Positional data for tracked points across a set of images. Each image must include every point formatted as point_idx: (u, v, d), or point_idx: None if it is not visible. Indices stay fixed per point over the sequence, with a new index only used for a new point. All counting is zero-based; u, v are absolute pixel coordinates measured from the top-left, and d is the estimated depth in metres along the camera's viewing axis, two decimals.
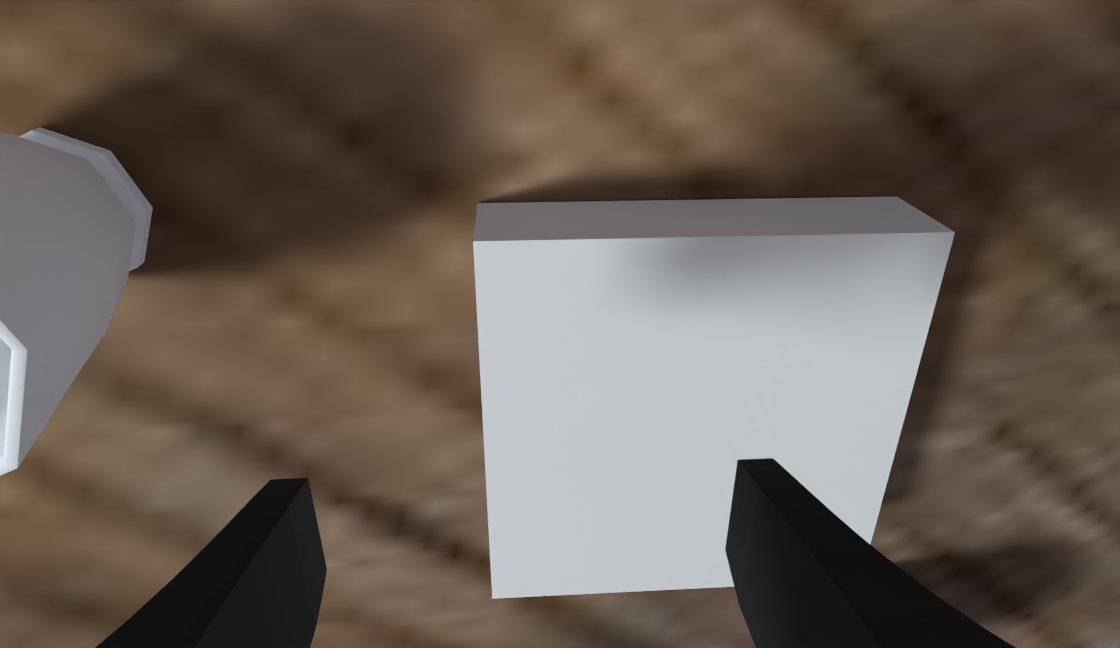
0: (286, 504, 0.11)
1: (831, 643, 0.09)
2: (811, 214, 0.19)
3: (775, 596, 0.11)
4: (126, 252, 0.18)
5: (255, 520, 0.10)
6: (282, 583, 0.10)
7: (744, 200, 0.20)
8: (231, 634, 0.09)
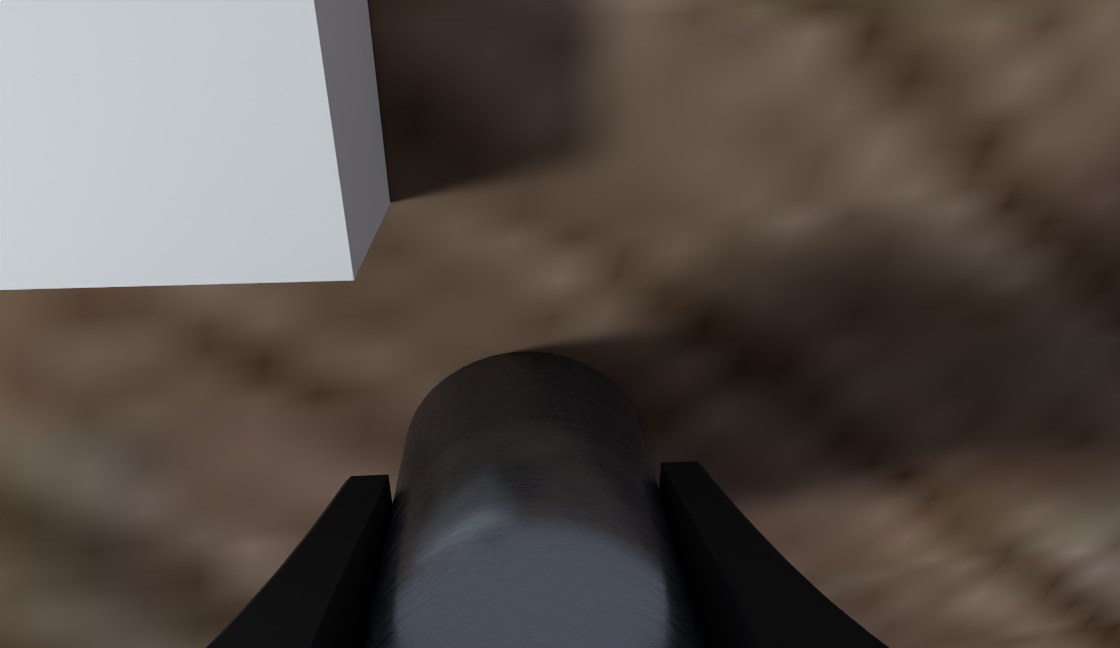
0: (373, 500, 0.11)
1: None
2: None
3: None
4: None
5: (346, 516, 0.10)
6: (371, 578, 0.10)
7: None
8: (337, 628, 0.09)
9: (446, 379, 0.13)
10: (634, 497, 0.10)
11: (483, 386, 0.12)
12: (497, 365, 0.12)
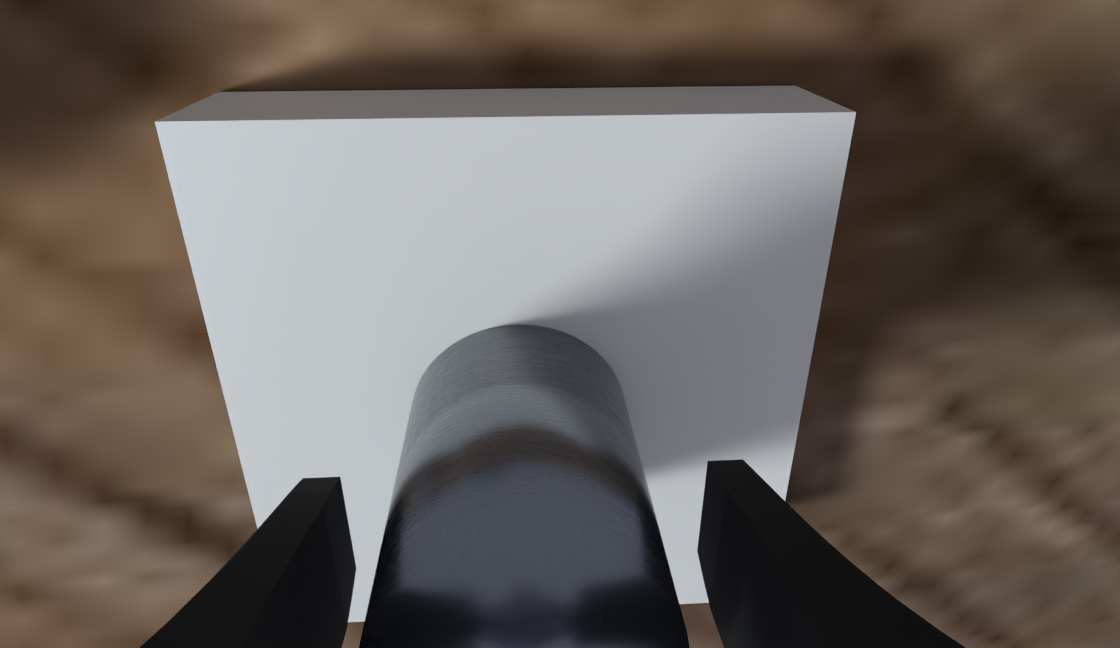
0: (321, 503, 0.11)
1: (791, 645, 0.09)
2: (665, 98, 0.14)
3: (741, 598, 0.11)
4: None
5: (292, 518, 0.10)
6: (318, 581, 0.10)
7: (585, 89, 0.15)
8: (274, 632, 0.09)
9: (438, 357, 0.14)
10: (598, 435, 0.11)
11: (467, 358, 0.13)
12: (479, 339, 0.14)
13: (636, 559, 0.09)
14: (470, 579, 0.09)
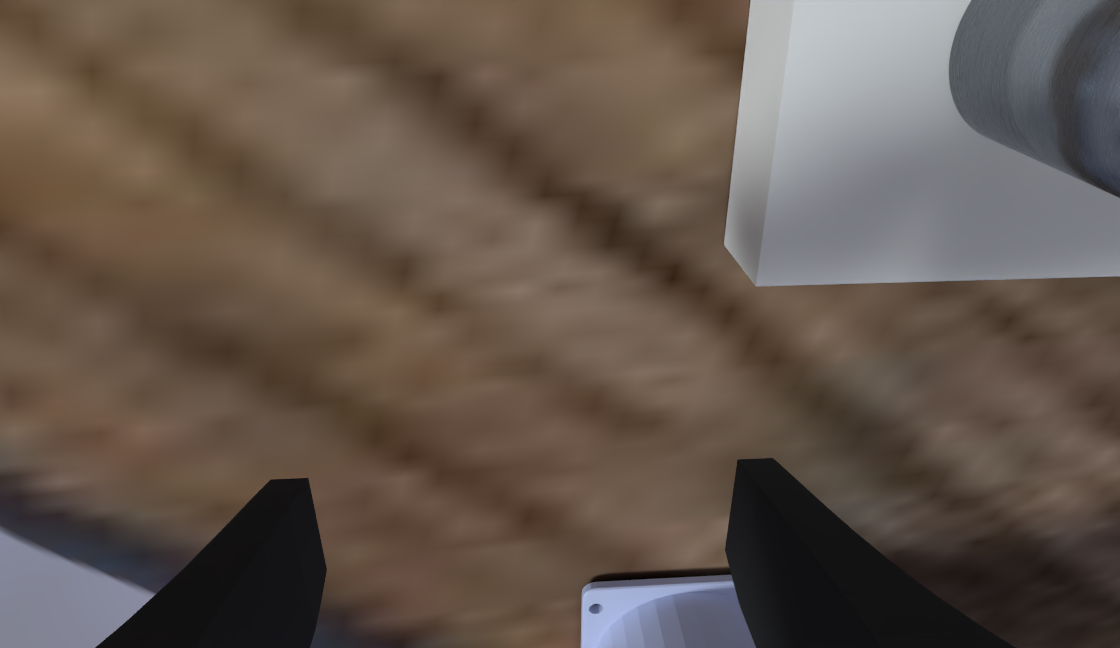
0: (286, 504, 0.11)
1: (831, 643, 0.09)
2: None
3: (774, 596, 0.11)
4: None
5: (255, 520, 0.10)
6: (282, 583, 0.10)
7: None
8: (231, 634, 0.09)
9: None
10: None
11: None
12: None
13: None
14: None
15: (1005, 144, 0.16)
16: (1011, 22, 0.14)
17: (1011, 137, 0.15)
